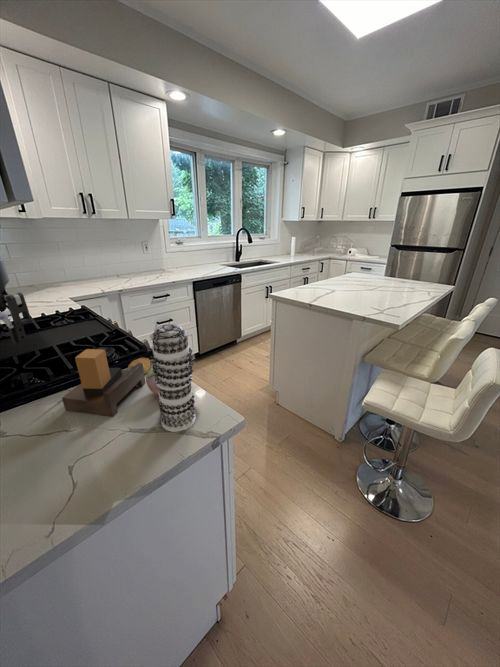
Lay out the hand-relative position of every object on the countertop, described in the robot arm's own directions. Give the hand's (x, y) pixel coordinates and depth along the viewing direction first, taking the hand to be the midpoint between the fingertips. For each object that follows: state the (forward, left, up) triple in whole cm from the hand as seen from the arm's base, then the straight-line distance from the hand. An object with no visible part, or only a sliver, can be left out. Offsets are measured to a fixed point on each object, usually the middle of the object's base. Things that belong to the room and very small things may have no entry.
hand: (2, 340), depth 56 cm
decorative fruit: (+22, +21, -24) cm, 39 cm away
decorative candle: (+31, +11, -24) cm, 41 cm away
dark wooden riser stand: (+7, +17, -24) cm, 30 cm away
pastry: (+8, +32, -24) cm, 41 cm away
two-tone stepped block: (+7, +17, -20) cm, 27 cm away
